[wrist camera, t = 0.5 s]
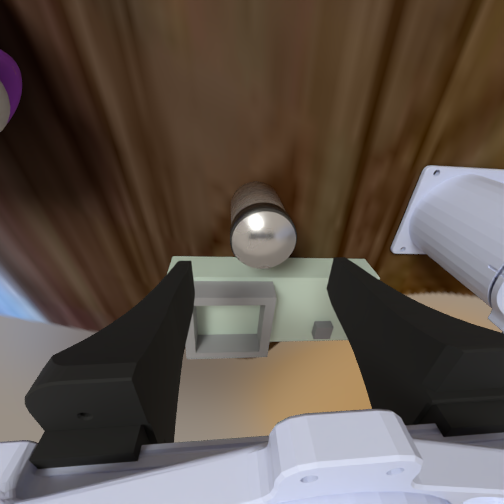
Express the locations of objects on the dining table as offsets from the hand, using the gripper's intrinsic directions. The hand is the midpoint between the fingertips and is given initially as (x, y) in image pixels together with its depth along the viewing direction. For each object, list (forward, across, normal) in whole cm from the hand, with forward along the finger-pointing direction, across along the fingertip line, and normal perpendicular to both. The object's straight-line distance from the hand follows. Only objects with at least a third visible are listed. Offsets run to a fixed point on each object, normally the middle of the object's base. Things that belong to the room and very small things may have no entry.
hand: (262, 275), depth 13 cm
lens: (+9, 0, 0) cm, 9 cm away
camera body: (+9, -2, +9) cm, 13 cm away
